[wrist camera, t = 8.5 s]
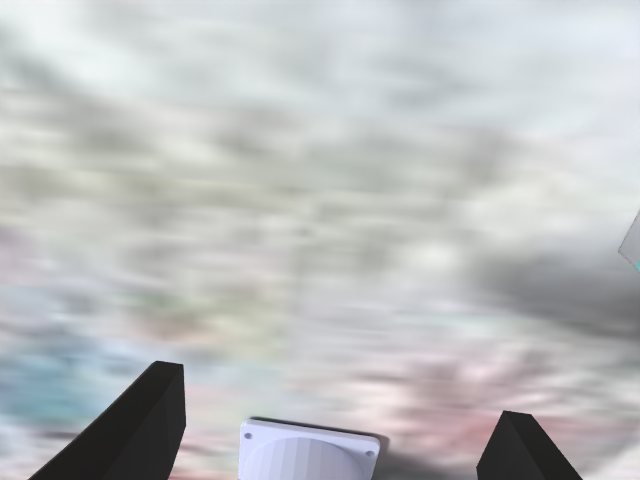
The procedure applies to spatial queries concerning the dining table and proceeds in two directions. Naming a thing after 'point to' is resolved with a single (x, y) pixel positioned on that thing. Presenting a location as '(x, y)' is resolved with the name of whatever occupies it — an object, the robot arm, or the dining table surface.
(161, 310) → the dining table surface
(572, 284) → the dining table surface
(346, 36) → the dining table surface
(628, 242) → the base brick
